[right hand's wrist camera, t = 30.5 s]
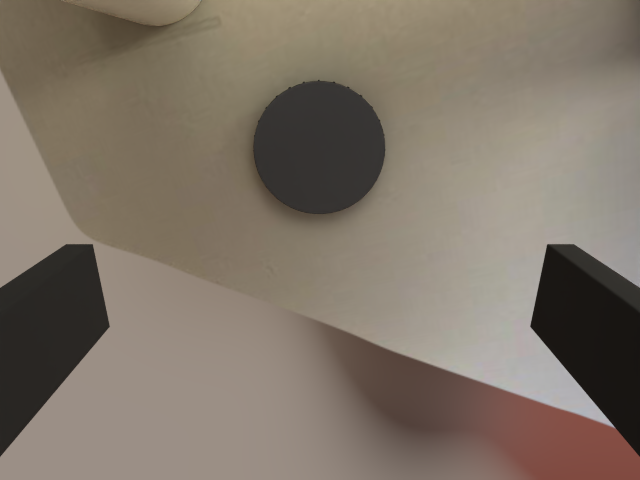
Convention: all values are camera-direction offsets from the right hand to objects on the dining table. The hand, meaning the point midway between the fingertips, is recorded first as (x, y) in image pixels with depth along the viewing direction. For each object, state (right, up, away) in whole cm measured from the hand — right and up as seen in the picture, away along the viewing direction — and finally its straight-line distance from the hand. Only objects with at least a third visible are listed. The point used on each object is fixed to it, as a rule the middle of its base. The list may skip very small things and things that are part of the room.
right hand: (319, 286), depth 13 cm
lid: (0, +9, +23) cm, 25 cm away
